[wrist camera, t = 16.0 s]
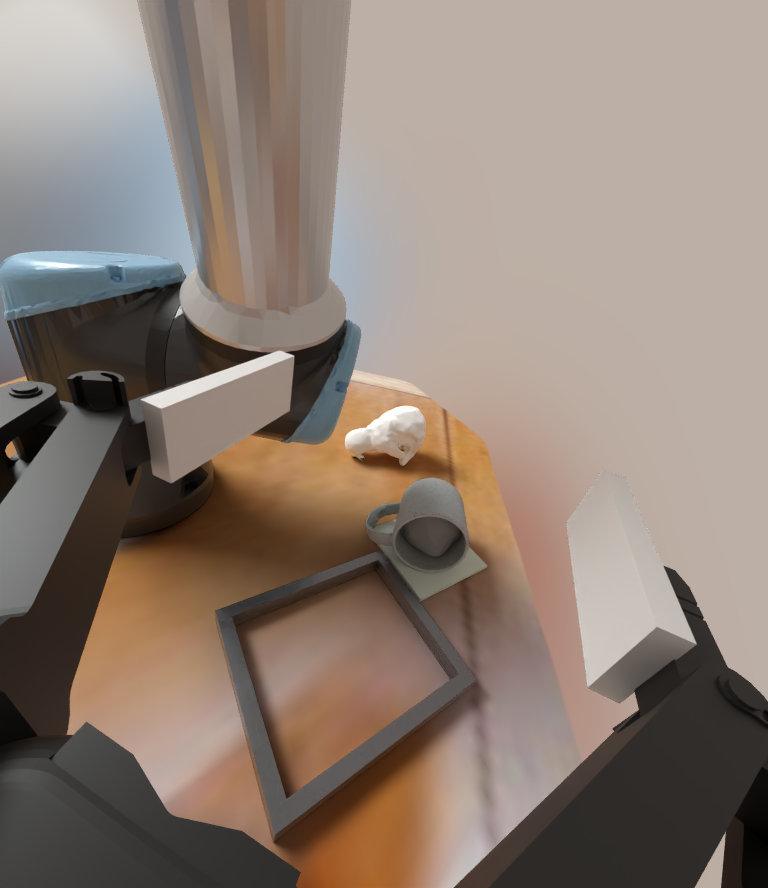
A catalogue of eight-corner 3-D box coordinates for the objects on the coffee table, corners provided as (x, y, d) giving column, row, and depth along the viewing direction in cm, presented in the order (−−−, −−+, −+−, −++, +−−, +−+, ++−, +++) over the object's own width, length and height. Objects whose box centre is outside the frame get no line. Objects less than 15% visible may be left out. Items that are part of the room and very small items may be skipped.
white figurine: (434, 418, 50) (353, 422, 46) (423, 465, 55) (348, 473, 51) (417, 398, 55) (342, 400, 51) (408, 443, 59) (339, 449, 55)
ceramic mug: (452, 527, 44) (472, 478, 40) (455, 581, 36) (480, 528, 33) (370, 506, 44) (382, 455, 40) (356, 556, 37) (370, 500, 33)
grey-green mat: (367, 530, 41) (368, 528, 40) (430, 510, 46) (431, 507, 46) (419, 602, 34) (420, 599, 34) (486, 568, 40) (487, 565, 39)
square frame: (215, 621, 28) (215, 610, 28) (378, 559, 37) (381, 549, 37) (273, 842, 19) (274, 835, 18) (470, 688, 28) (476, 679, 27)
